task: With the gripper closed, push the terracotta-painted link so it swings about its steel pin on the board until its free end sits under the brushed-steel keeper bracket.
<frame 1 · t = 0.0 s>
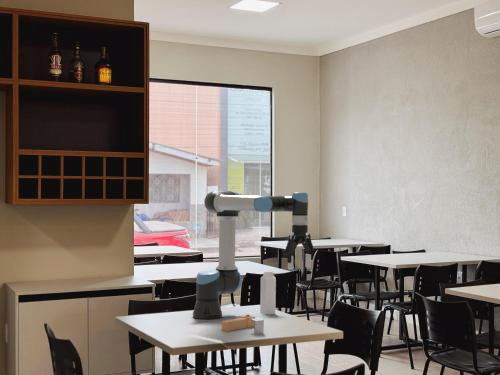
hand: (299, 268, 335), 28 cm above the table, fingers open, 13 cm apart
board: (245, 332, 321), on the table
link: (238, 323, 324), point 4 cm above the table, hinge at 0.0°
milk: (267, 313, 370), on the table
keeper: (258, 333, 313), resting on board
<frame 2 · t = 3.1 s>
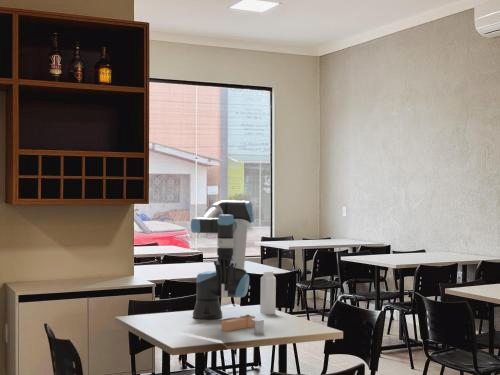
hand: (224, 297, 328), 15 cm above the table, fingers closed
nothing on the table moved.
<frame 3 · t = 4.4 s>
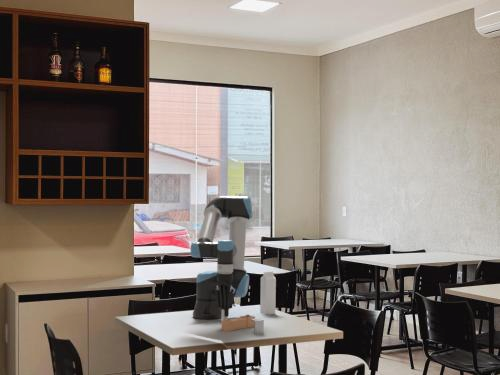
hand: (224, 323, 328), 3 cm above the table, fingers closed
nothing on the table moved.
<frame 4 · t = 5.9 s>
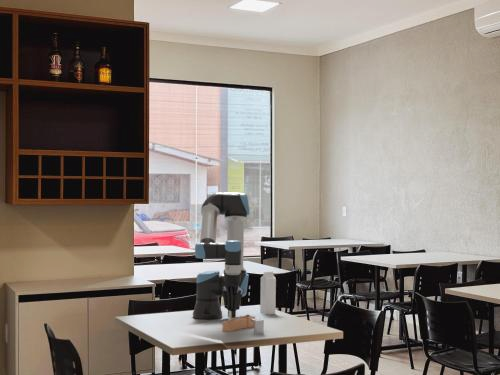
hand: (231, 324, 324), 3 cm above the table, fingers closed
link: (238, 323, 324), point 4 cm above the table, hinge at 3.0°, touching gripper
everything else where it was.
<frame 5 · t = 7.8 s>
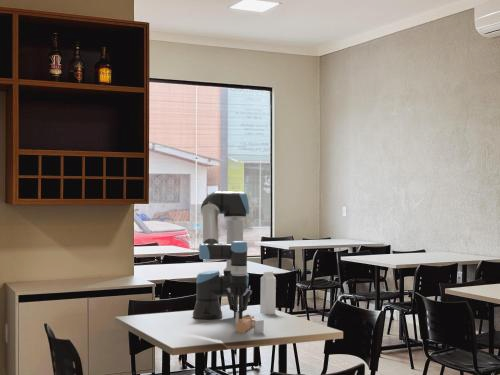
hand: (238, 325, 322), 3 cm above the table, fingers closed
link: (244, 323, 323), point 4 cm above the table, hinge at 30.9°, touching gripper
everything else where it was.
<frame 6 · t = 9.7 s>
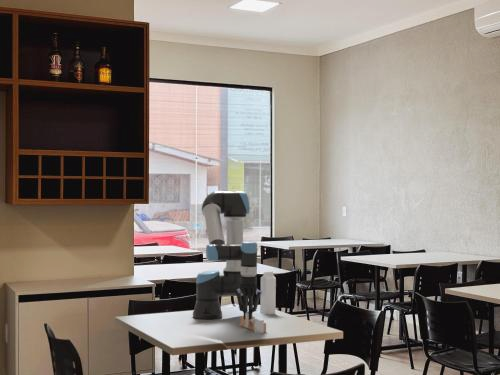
hand: (247, 326, 320), 3 cm above the table, fingers closed
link: (253, 323, 323), point 4 cm above the table, hinge at 67.6°, touching gripper
everything else where it was.
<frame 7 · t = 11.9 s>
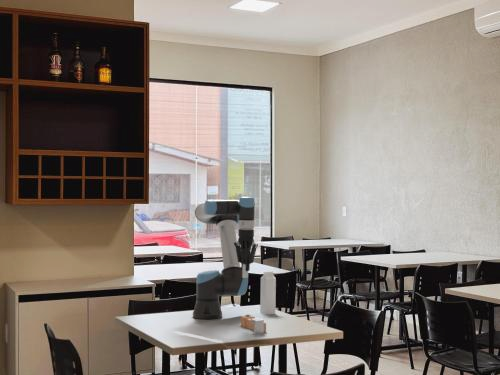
hand: (245, 277, 337), 23 cm above the table, fingers closed
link: (253, 323, 323), point 4 cm above the table, hinge at 67.6°
everything else where it was.
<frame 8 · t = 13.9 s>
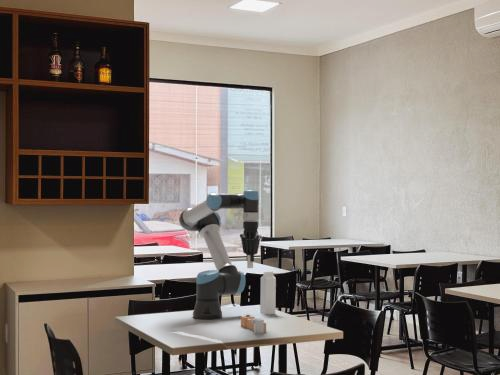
hand: (250, 267, 349), 26 cm above the table, fingers closed
nothing on the table moved.
at the end: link at +68° (first picture: +0°) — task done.
